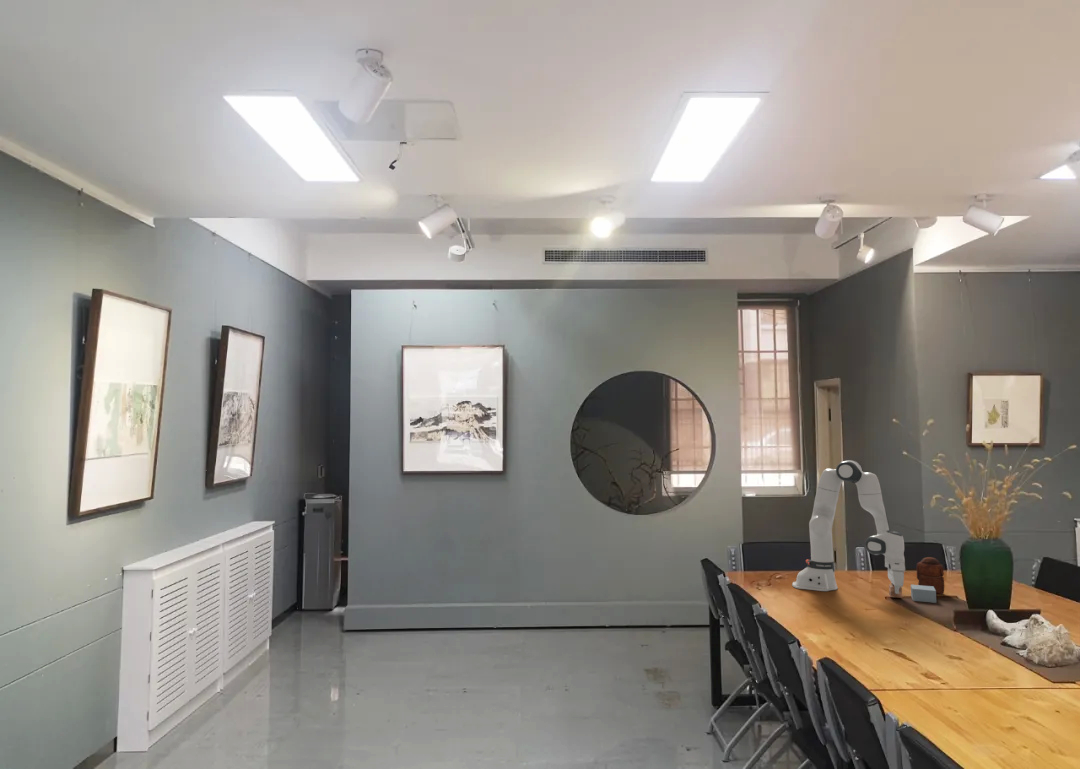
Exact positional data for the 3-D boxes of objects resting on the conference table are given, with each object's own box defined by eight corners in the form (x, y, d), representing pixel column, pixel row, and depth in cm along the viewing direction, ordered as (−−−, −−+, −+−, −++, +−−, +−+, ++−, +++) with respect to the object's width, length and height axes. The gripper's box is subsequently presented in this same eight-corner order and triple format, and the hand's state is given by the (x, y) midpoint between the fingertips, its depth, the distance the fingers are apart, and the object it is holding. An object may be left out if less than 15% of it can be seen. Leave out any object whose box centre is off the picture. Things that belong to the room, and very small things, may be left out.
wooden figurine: (941, 591, 342) (940, 556, 343) (945, 594, 336) (943, 558, 337) (916, 590, 346) (914, 555, 347) (919, 593, 340) (917, 557, 341)
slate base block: (912, 601, 324) (912, 588, 325) (911, 596, 333) (910, 584, 334) (936, 603, 320) (935, 590, 321) (934, 598, 329) (933, 586, 330)
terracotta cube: (890, 596, 328) (890, 586, 328) (889, 594, 333) (888, 584, 333) (902, 597, 326) (901, 587, 327) (900, 595, 331) (899, 585, 331)
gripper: (884, 559, 341) (884, 586, 341) (891, 567, 322) (892, 596, 321) (897, 560, 339) (898, 587, 338) (906, 568, 320) (906, 597, 319)
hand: (895, 591), depth 330 cm, fingers closed on terracotta cube, 5 cm apart
